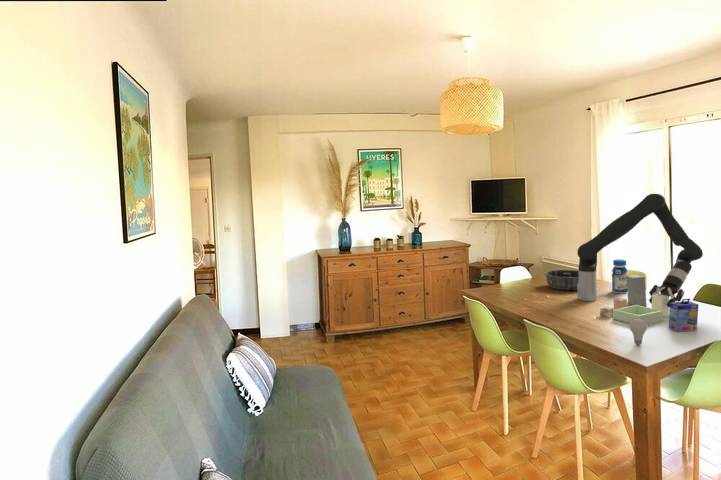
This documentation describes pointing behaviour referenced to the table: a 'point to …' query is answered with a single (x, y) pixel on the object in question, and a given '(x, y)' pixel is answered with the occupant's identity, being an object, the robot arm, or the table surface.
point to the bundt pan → (563, 279)
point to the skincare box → (636, 290)
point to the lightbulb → (638, 330)
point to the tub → (638, 314)
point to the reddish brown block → (620, 303)
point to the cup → (660, 303)
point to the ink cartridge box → (683, 316)
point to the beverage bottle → (619, 276)
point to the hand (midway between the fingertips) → (659, 304)
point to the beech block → (606, 312)
